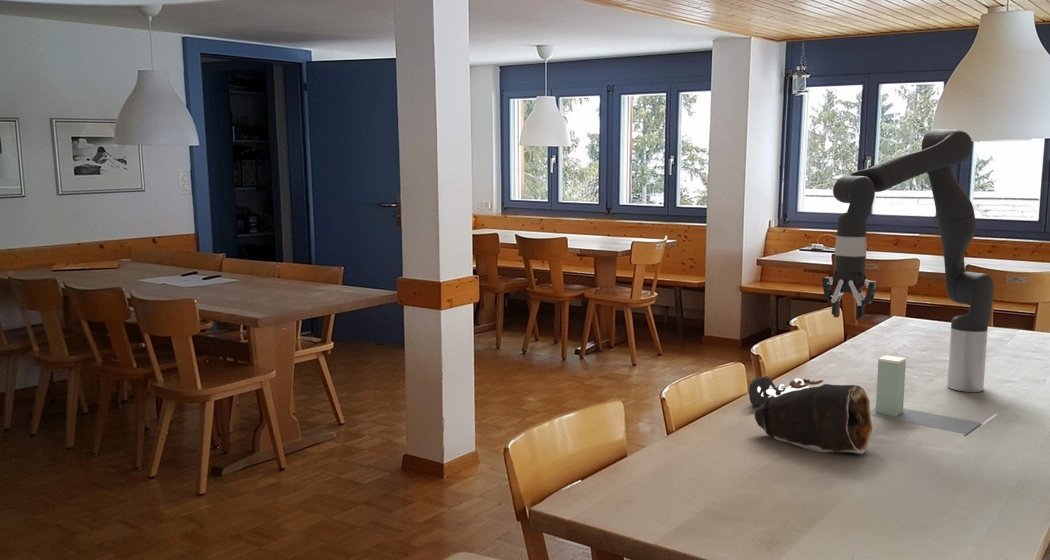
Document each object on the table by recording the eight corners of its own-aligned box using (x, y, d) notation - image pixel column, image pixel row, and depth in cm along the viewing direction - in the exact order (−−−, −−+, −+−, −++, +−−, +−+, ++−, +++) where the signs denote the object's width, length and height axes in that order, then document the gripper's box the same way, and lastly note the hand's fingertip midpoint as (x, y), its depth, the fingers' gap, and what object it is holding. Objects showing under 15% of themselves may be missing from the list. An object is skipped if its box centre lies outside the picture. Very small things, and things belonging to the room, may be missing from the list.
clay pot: (762, 377, 210) (865, 374, 194) (774, 437, 212) (878, 438, 196) (735, 398, 199) (843, 396, 183) (749, 461, 201) (856, 464, 184)
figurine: (764, 373, 236) (827, 373, 224) (767, 408, 236) (830, 409, 223) (737, 379, 226) (801, 378, 214) (740, 415, 226) (805, 417, 213)
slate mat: (882, 406, 227) (882, 404, 227) (981, 425, 211) (981, 422, 211) (864, 416, 219) (864, 413, 219) (966, 436, 202) (966, 433, 202)
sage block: (883, 408, 224) (886, 355, 222) (902, 411, 220) (906, 358, 219) (875, 412, 220) (878, 358, 218) (895, 416, 217) (898, 361, 215)
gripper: (884, 254, 221) (880, 319, 223) (829, 250, 231) (826, 313, 233) (872, 256, 216) (869, 323, 218) (817, 252, 225) (814, 316, 228)
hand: (847, 318), depth 225 cm, fingers open, 5 cm apart
